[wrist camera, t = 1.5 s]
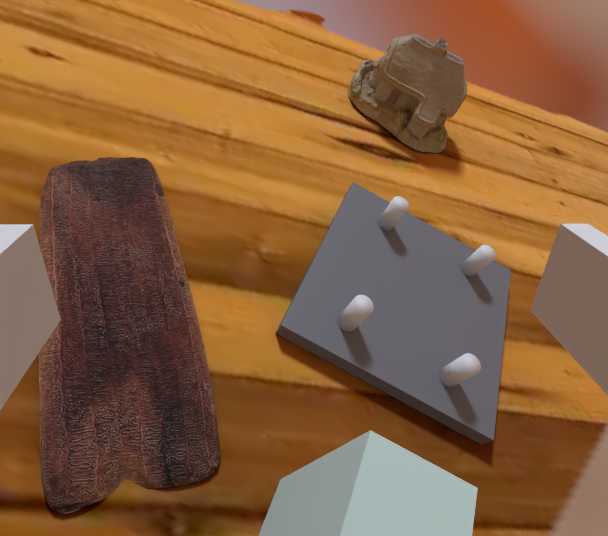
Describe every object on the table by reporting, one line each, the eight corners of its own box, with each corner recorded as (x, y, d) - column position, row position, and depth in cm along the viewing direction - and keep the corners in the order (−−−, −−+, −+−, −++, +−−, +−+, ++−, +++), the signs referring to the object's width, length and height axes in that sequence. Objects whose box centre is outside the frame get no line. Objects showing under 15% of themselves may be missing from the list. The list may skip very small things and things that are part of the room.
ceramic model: (450, 118, 59) (500, 50, 52) (439, 166, 53) (494, 96, 45) (358, 68, 59) (394, -9, 51) (334, 110, 52) (372, 29, 44)
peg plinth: (275, 333, 33) (293, 305, 30) (346, 192, 45) (366, 160, 41) (480, 444, 34) (522, 430, 30) (500, 277, 45) (532, 253, 42)
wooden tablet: (35, 146, 34) (168, 141, 38) (43, 166, 36) (169, 159, 39) (34, 524, 22) (230, 470, 26) (46, 526, 24) (227, 474, 27)
